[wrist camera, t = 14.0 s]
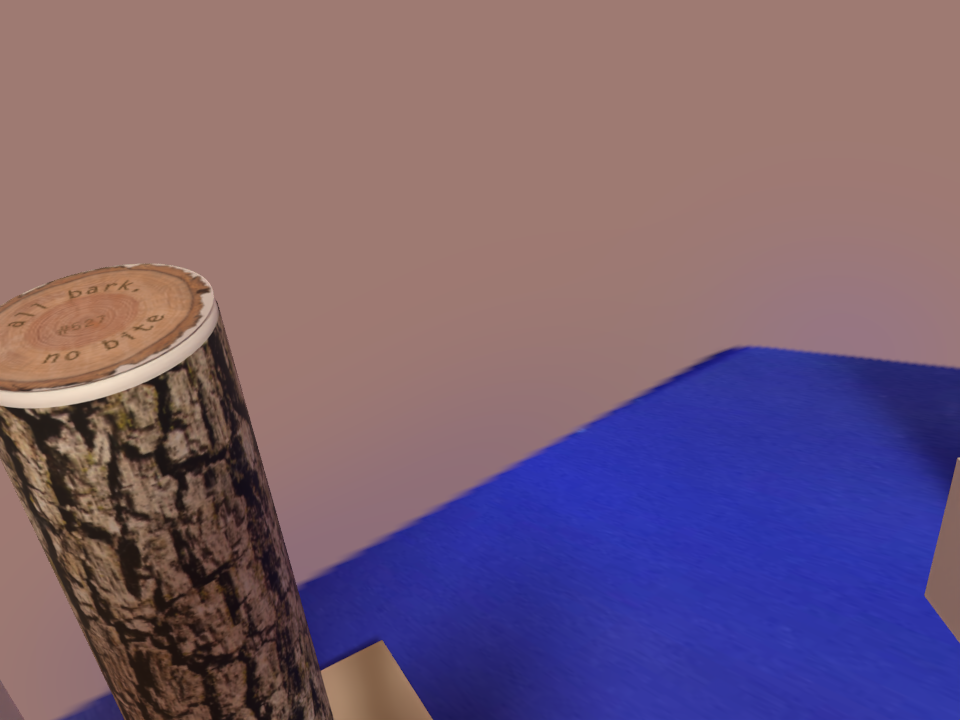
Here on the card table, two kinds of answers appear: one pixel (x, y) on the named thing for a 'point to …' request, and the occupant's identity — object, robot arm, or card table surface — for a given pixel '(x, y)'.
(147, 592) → the paper tube
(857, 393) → the card table surface
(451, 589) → the card table surface
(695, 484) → the card table surface
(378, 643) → the seat board
